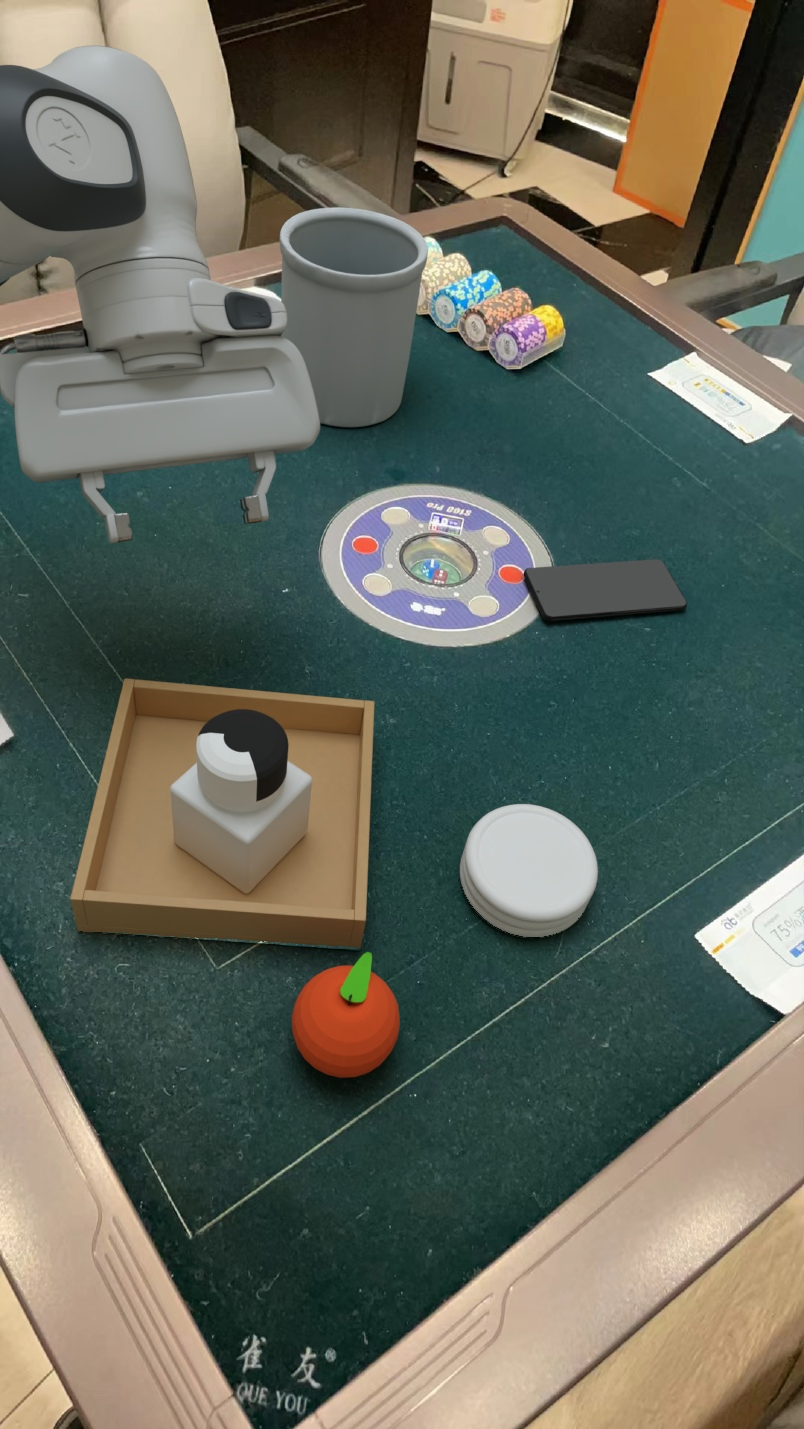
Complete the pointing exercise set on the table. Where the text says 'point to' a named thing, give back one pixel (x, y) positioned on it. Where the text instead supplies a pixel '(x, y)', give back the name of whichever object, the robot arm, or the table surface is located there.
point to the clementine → (346, 1020)
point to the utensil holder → (352, 308)
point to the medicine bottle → (241, 798)
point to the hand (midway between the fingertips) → (190, 531)
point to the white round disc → (528, 870)
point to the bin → (179, 888)
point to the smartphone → (604, 589)
